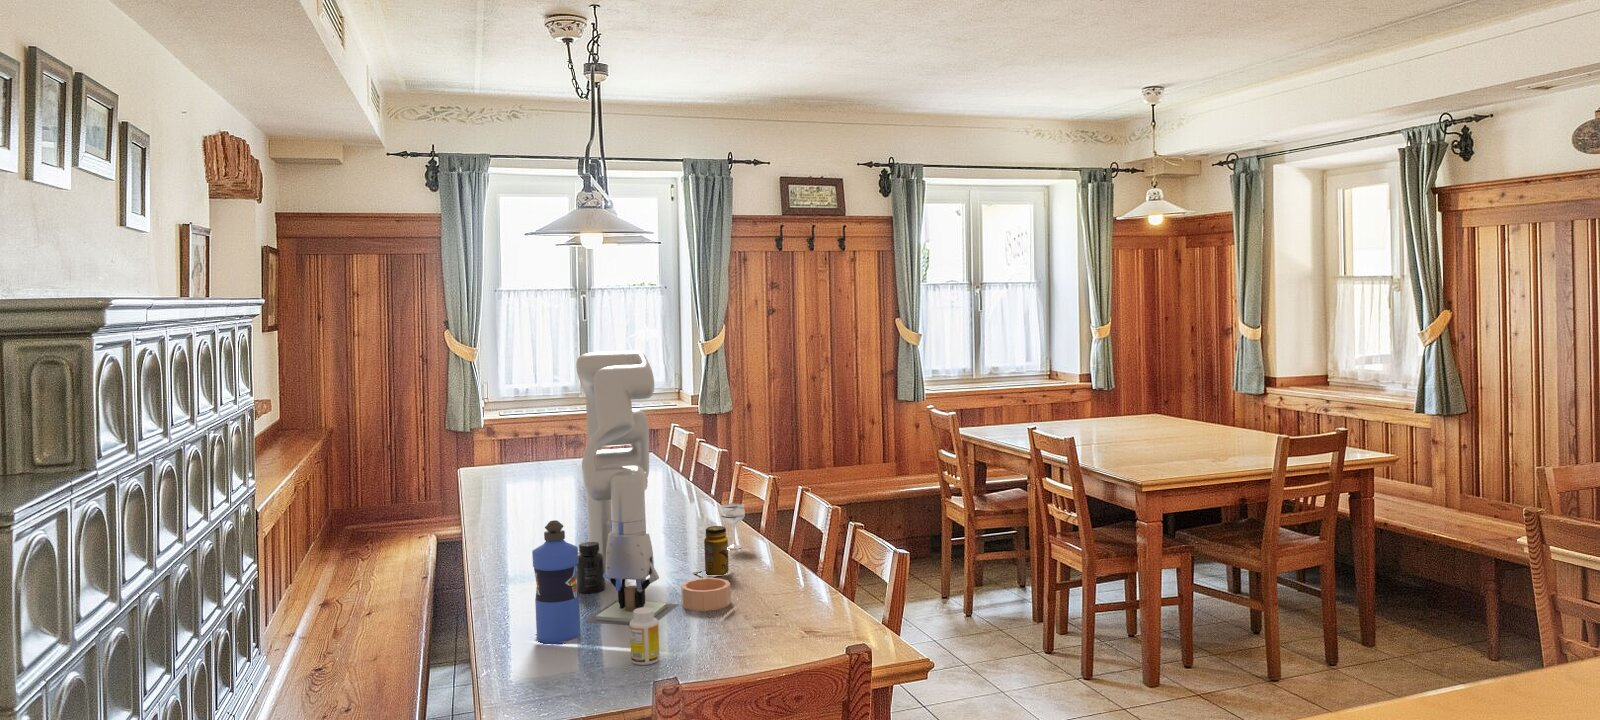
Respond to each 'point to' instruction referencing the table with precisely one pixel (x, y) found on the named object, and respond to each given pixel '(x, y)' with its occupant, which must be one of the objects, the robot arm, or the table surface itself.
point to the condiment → (716, 551)
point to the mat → (658, 617)
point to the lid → (627, 607)
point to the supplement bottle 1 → (590, 569)
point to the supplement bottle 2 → (644, 637)
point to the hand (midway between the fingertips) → (632, 606)
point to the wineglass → (733, 517)
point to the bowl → (706, 594)
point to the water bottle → (556, 587)
